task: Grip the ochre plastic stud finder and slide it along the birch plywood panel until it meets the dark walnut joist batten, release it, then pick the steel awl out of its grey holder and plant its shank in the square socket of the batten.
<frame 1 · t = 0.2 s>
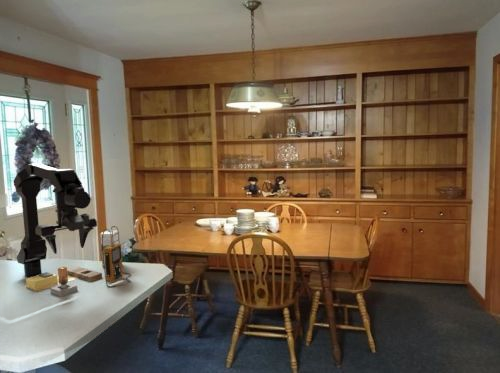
hand: (69, 250, 134), 14 cm above the kitchen counter, fingers open, 9 cm apart
multimeter: (123, 280, 144), on the kitchen counter
awl holder: (64, 293, 132), on the kitchen counter
subfloor panel: (52, 284, 142), on the kitchen counter
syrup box: (111, 266, 162), on the kitchen counter
stud finder: (42, 285, 139), point 1 cm above the kitchen counter, touching subfloor panel
joist batten: (84, 278, 148), on the kitchen counter
awl: (63, 281, 132), in the awl holder
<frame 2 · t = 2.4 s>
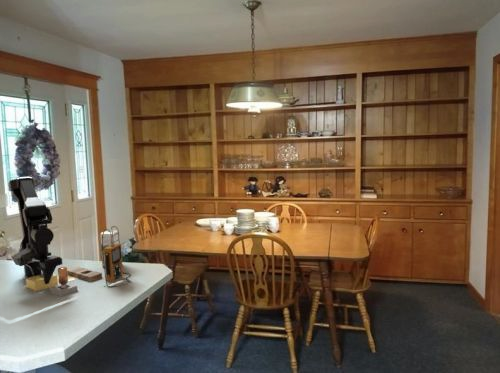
hand: (42, 282, 139), 2 cm above the kitchen counter, fingers closed on stud finder, 6 cm apart
stud finder: (42, 285, 139), point 1 cm above the kitchen counter, touching gripper, subfloor panel
everything else where it was.
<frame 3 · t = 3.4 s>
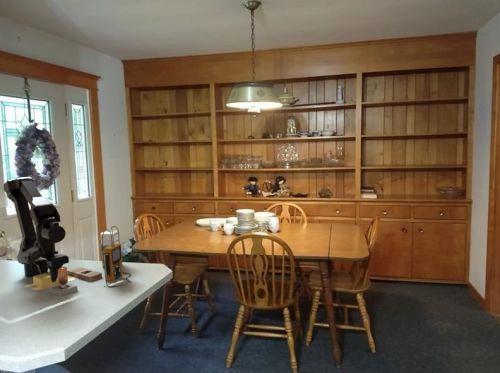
hand: (49, 280, 141), 2 cm above the kitchen counter, fingers closed on stud finder, 6 cm apart
stud finder: (49, 282, 141), point 1 cm above the kitchen counter, touching gripper
everything else where it was.
when the fingers open (2 cm above the kitchen counter, at t = 4.5 s): stud finder stays where it is, resting on subfloor panel.
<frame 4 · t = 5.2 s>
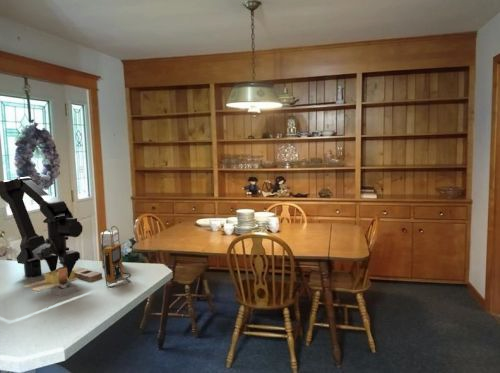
hand: (60, 276, 144), 2 cm above the kitchen counter, fingers open, 9 cm apart
stud finder: (60, 279, 144), point 1 cm above the kitchen counter, touching subfloor panel
everything else where it was.
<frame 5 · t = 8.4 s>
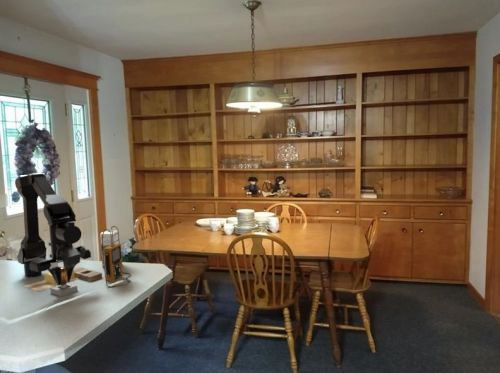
hand: (63, 283, 132), 4 cm above the kitchen counter, fingers closed on awl, 3 cm apart
awl: (63, 281, 132), in the awl holder, touching gripper
everything else where it was.
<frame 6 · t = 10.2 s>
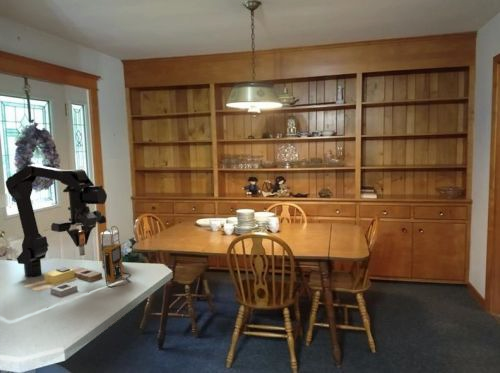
hand: (81, 245, 144), 13 cm above the kitchen counter, fingers closed on awl, 3 cm apart
awl: (81, 243, 144), point 14 cm above the kitchen counter, touching gripper
everything else where it was.
when the fingers open (5 cm above the kitchen counter, at t = 12.5 s): awl drops 1 cm, resting in joist batten.
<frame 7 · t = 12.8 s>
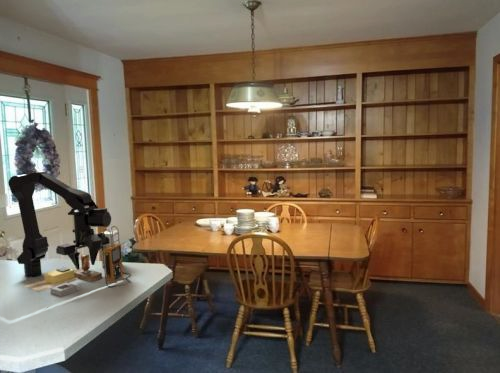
hand: (85, 267, 146), 5 cm above the kitchen counter, fingers open, 6 cm apart
awl: (85, 267, 146), in the joist batten
everything else where it was.
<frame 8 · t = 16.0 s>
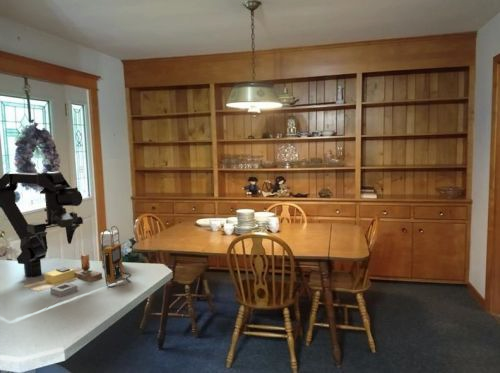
hand: (58, 246, 146), 13 cm above the kitchen counter, fingers open, 9 cm apart
nothing on the kitchen counter moved.
at the end: stud finder 0.7 cm from the target spot, point 0.8 cm above the kitchen counter; awl 0.1 cm from the target spot, resting in joist batten; awl tilted 0° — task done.
